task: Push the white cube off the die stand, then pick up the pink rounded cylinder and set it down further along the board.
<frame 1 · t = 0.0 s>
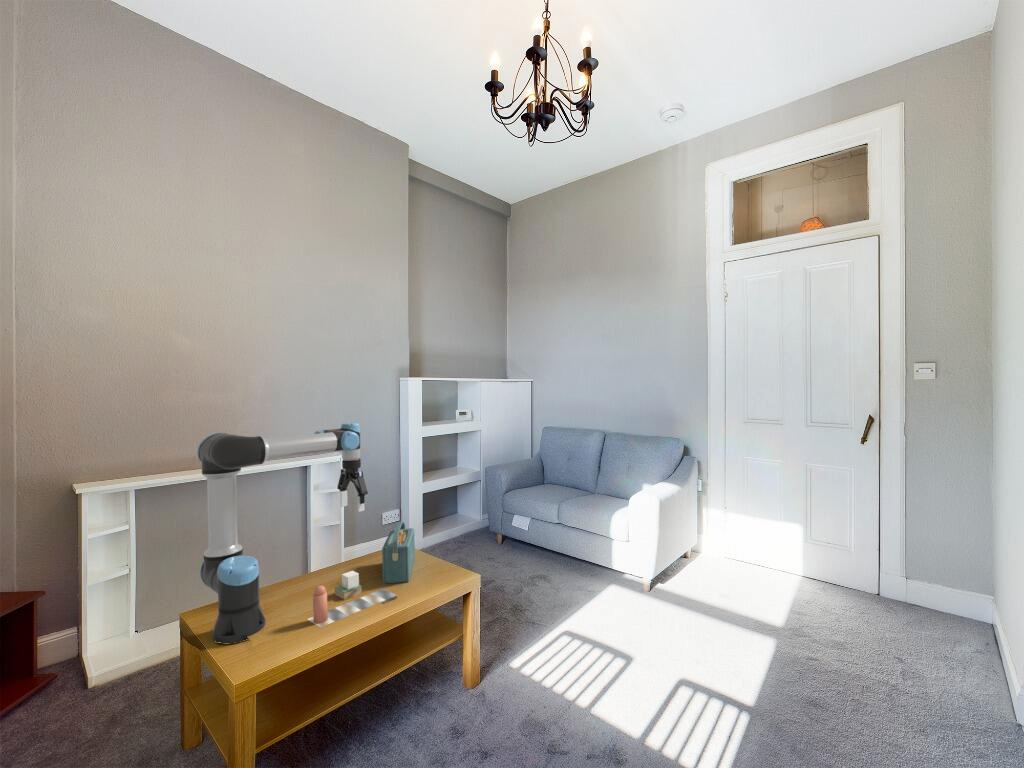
hand: (352, 508, 199), 28 cm above the table, fingers open, 13 cm apart
white cube: (350, 585, 178), point 4 cm above the table, touching die stand
die stand: (348, 597, 177), on the table
pink rounded cylinder: (320, 620, 158), point 1 cm above the table, touching board
radio: (399, 572, 201), on the table
board: (354, 609, 167), on the table
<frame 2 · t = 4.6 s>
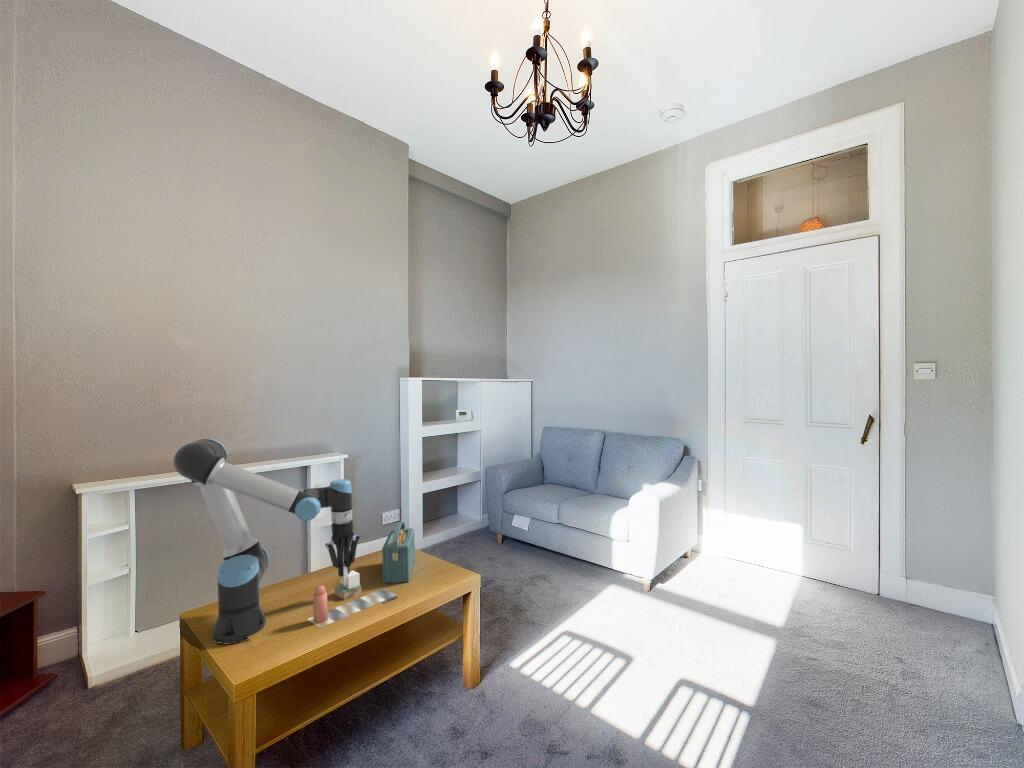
hand: (344, 583, 176), 6 cm above the table, fingers closed
white cube: (351, 585, 178), point 4 cm above the table, touching die stand, gripper
everything else where it was.
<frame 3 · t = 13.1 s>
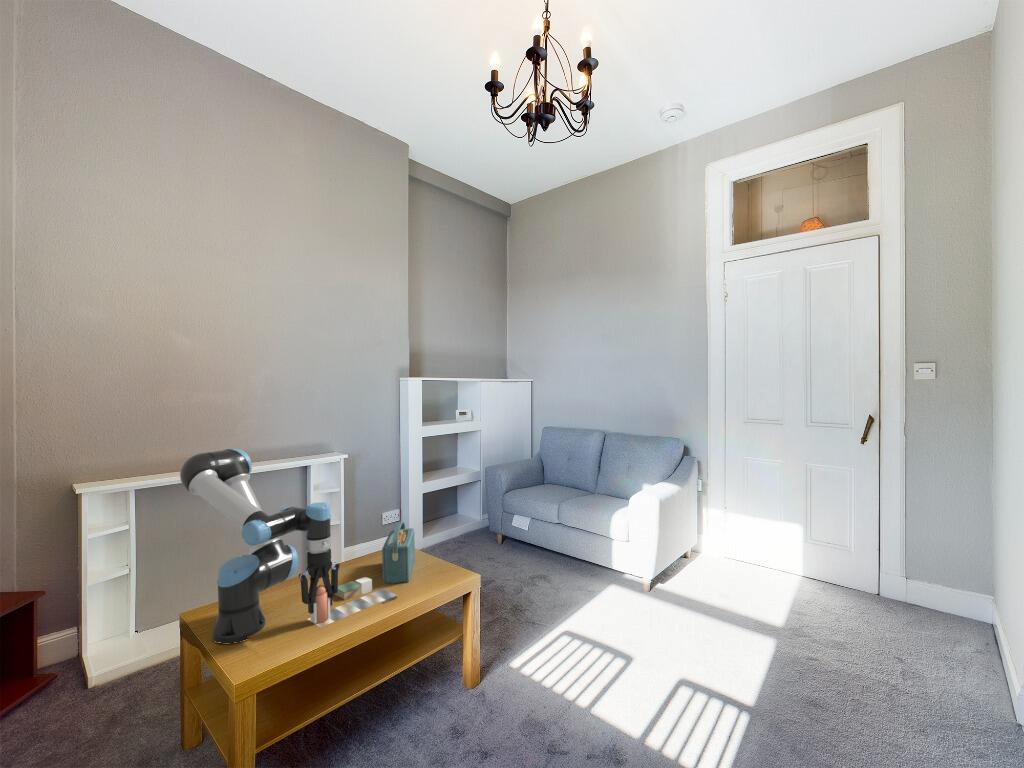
hand: (320, 618, 158), 2 cm above the table, fingers closed on pink rounded cylinder, 4 cm apart
white cube: (358, 587, 181), point 2 cm above the table, tilted 90°
pink rounded cylinder: (320, 620, 158), point 1 cm above the table, touching board, gripper
everything else where it was.
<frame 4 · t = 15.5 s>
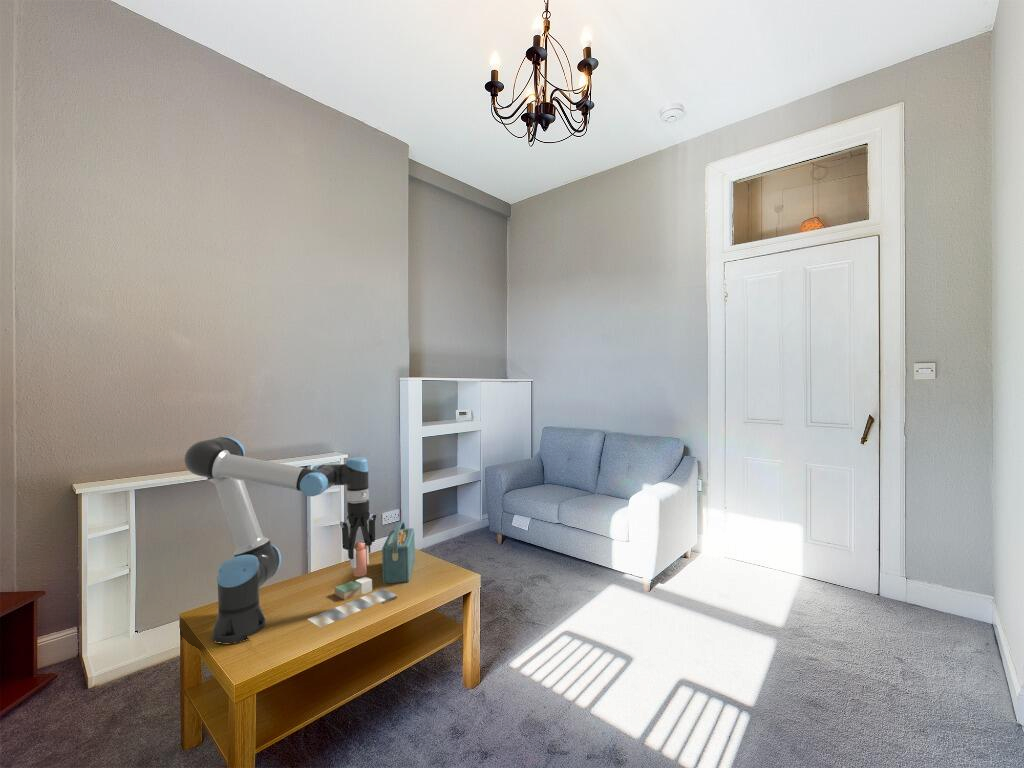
hand: (359, 564, 169), 15 cm above the table, fingers closed on pink rounded cylinder, 4 cm apart
pink rounded cylinder: (360, 574, 169), point 12 cm above the table, touching gripper
everything else where it was.
when the fingers open (3 cm above the table, at t = 17.8 s): pink rounded cylinder stays where it is, resting on board.
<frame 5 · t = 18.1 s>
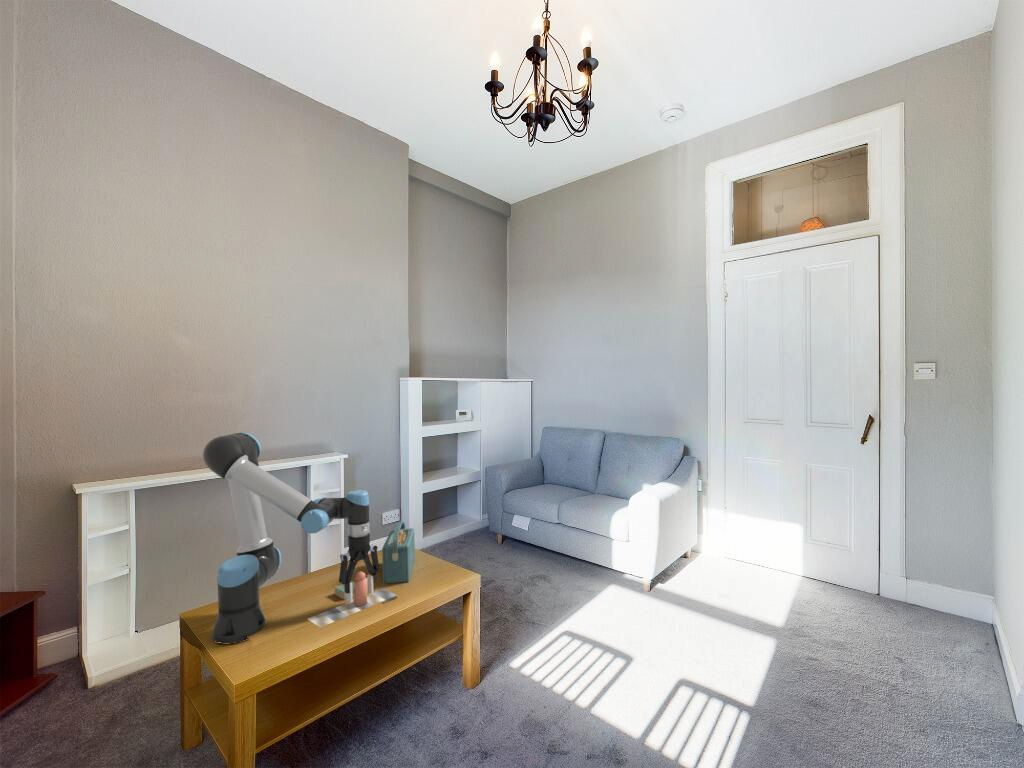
hand: (360, 596, 169), 4 cm above the table, fingers open, 8 cm apart
pink rounded cylinder: (361, 603, 169), point 1 cm above the table, touching board
everything else where it was.
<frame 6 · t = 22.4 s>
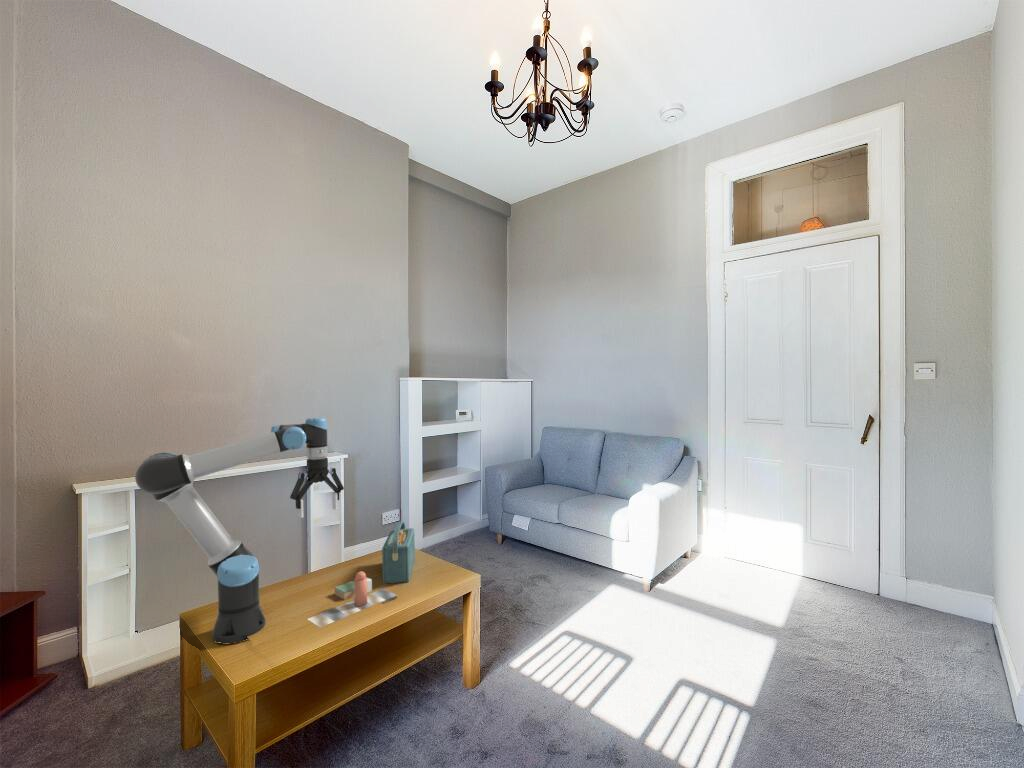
hand: (318, 513, 179), 32 cm above the table, fingers open, 13 cm apart
nothing on the table moved.
at the end: pink rounded cylinder 0.2 cm from the target spot, point 1.2 cm above the table; pink rounded cylinder tilted 1°; white cube touching table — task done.
